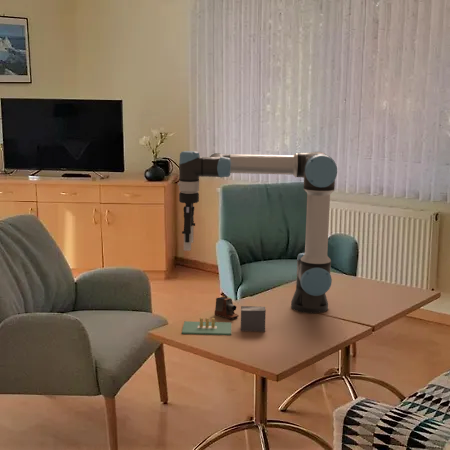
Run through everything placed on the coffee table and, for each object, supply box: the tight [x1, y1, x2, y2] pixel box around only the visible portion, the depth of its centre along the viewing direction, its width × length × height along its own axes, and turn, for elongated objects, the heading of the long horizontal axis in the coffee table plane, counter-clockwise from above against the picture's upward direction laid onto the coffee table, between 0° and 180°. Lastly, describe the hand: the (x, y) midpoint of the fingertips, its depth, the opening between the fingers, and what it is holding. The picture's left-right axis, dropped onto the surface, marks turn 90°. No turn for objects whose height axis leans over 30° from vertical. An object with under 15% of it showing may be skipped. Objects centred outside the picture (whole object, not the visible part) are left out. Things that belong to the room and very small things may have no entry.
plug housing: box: [240, 305, 267, 332], centre depth 254 cm, size 9×5×8 cm, turn 89°
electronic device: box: [214, 296, 240, 321], centre depth 268 cm, size 4×10×8 cm, turn 44°
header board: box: [181, 317, 232, 336], centre depth 253 cm, size 18×12×4 cm, turn 89°
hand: (188, 246), depth 263 cm, fingers open, 13 cm apart
